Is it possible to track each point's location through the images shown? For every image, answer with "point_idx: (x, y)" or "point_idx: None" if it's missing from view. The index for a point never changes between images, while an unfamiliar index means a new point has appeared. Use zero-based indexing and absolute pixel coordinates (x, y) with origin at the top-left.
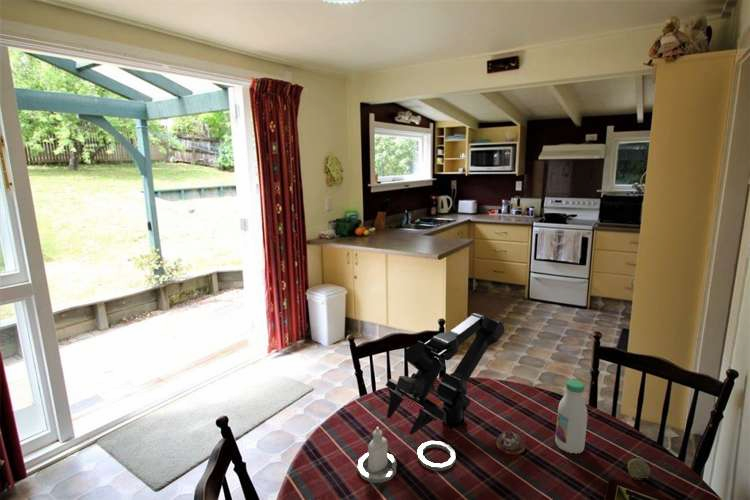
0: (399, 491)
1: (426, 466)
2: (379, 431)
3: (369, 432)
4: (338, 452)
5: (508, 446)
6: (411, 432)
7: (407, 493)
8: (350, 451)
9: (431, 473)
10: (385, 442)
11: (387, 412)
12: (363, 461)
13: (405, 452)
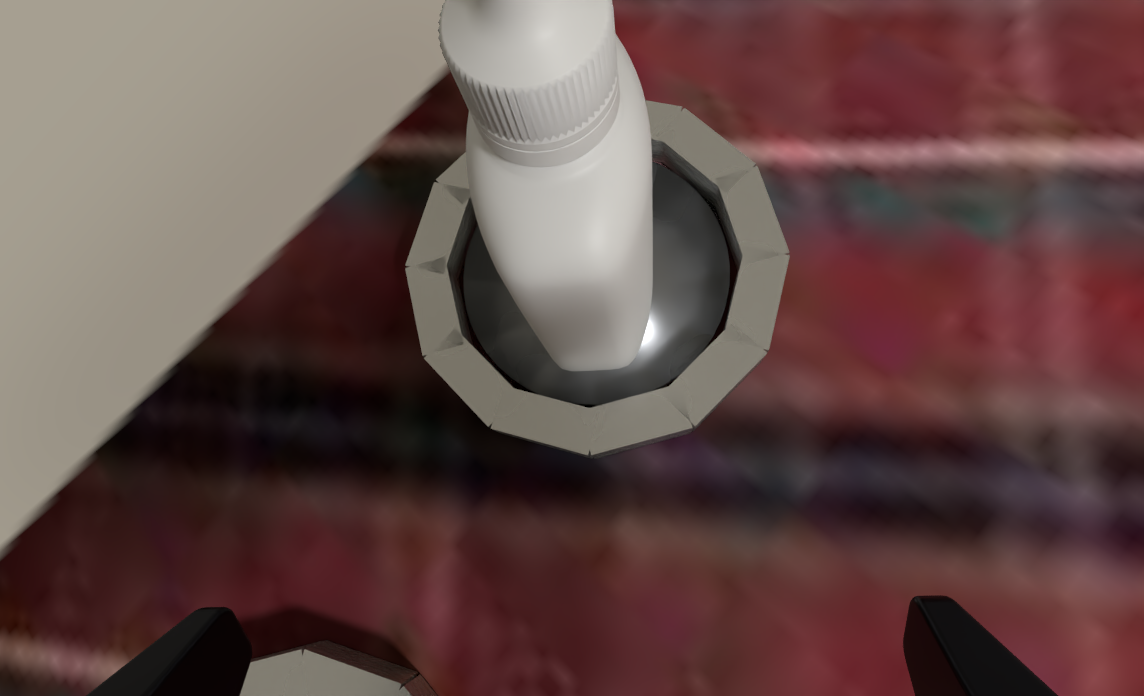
0: (287, 265)
1: (282, 652)
2: (478, 8)
3: (1138, 556)
4: (1004, 110)
5: None
6: (172, 628)
7: (231, 300)
8: (949, 205)
9: None
10: (480, 224)
11: (1036, 676)
12: (718, 194)
13: (581, 646)
